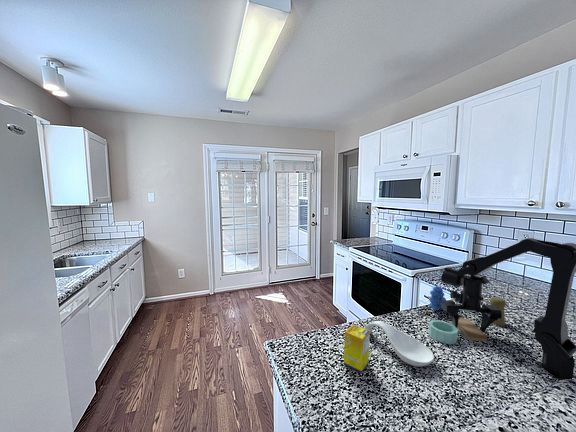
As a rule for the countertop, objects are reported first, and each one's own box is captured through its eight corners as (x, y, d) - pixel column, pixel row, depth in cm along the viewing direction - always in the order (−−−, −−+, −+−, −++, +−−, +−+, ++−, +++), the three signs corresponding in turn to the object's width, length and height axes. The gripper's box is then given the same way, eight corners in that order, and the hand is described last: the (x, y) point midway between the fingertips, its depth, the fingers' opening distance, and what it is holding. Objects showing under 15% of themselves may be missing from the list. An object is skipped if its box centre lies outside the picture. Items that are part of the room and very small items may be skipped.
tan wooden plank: (486, 341, 88) (487, 335, 88) (467, 339, 89) (468, 333, 89) (468, 324, 100) (469, 319, 100) (452, 322, 101) (453, 317, 101)
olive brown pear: (509, 328, 99) (511, 302, 98) (492, 326, 100) (494, 300, 99) (499, 320, 105) (501, 296, 104) (483, 319, 106) (485, 294, 105)
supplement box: (351, 355, 80) (352, 323, 79) (368, 363, 76) (370, 330, 75) (342, 364, 76) (344, 331, 75) (361, 374, 72) (363, 338, 71)
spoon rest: (439, 363, 78) (441, 341, 77) (422, 379, 70) (424, 356, 70) (374, 329, 96) (375, 312, 96) (355, 339, 89) (356, 321, 89)
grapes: (440, 318, 106) (442, 291, 105) (424, 311, 111) (426, 286, 110) (451, 311, 113) (453, 286, 112) (435, 305, 118) (437, 281, 117)
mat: (489, 343, 88) (489, 342, 88) (464, 340, 90) (464, 339, 89) (471, 326, 100) (471, 324, 100) (449, 323, 101) (450, 322, 101)
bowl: (461, 346, 86) (462, 334, 85) (433, 343, 87) (434, 331, 87) (450, 332, 94) (451, 321, 94) (425, 329, 96) (425, 319, 96)
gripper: (487, 286, 99) (483, 322, 101) (437, 281, 103) (434, 317, 104) (505, 297, 88) (501, 337, 90) (448, 292, 92) (445, 331, 93)
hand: (468, 330), depth 94 cm, fingers open, 9 cm apart
